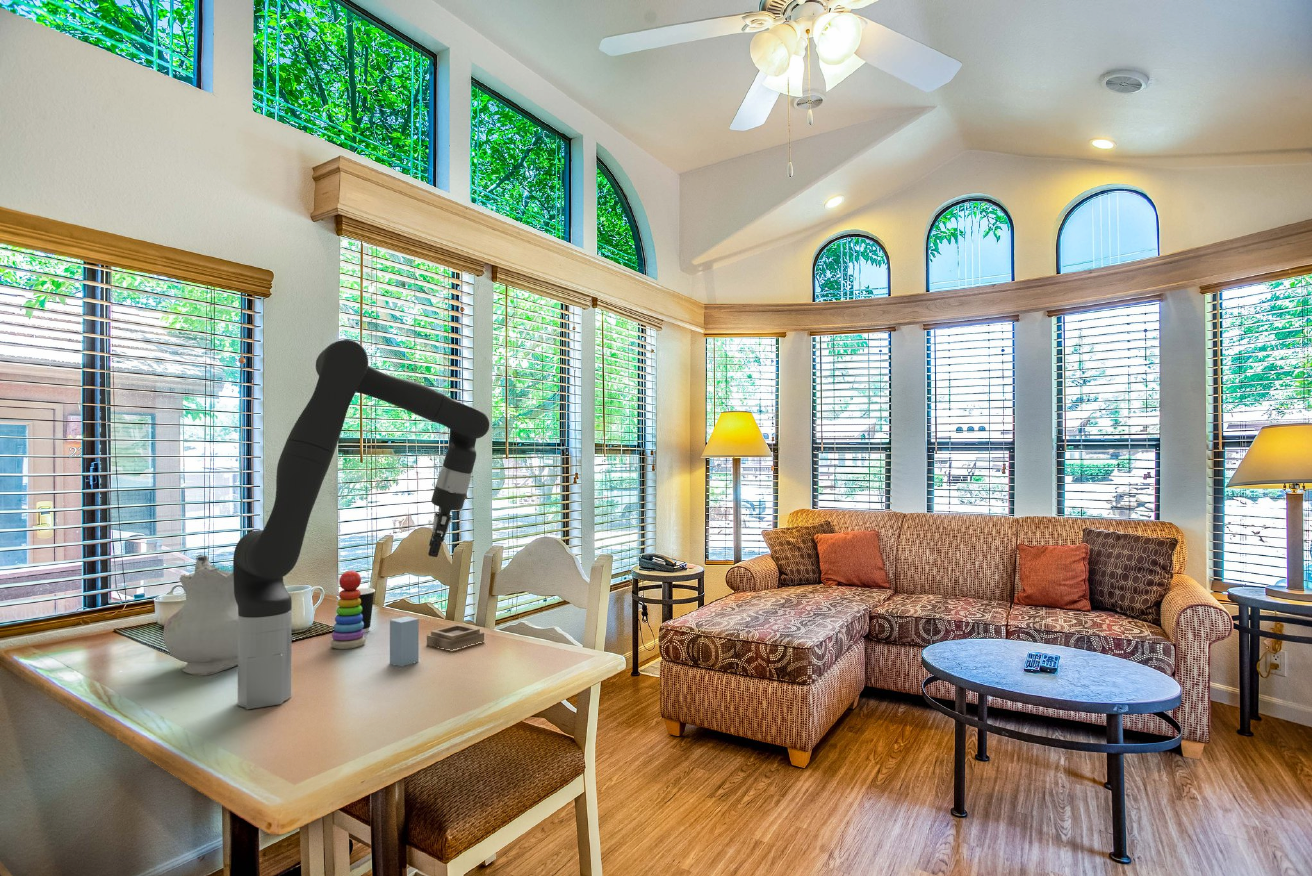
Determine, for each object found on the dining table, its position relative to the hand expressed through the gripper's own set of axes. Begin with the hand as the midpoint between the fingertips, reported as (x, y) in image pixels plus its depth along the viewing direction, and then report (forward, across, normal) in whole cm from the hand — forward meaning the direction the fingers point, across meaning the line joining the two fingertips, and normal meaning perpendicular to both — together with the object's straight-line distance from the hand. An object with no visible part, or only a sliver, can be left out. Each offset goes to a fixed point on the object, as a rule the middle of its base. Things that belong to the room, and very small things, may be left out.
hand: (432, 551), depth 168 cm
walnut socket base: (+23, -4, +12) cm, 26 cm away
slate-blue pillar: (+25, +9, 0) cm, 26 cm away
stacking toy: (+31, -11, -13) cm, 35 cm away
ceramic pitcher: (+38, -3, -40) cm, 55 cm away
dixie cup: (+33, -25, -11) cm, 43 cm away
